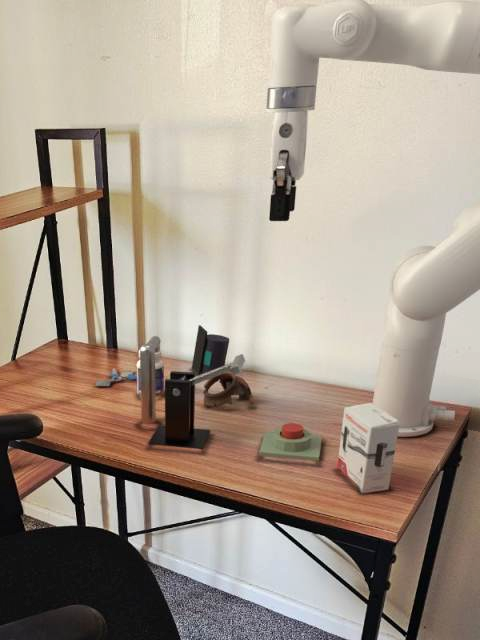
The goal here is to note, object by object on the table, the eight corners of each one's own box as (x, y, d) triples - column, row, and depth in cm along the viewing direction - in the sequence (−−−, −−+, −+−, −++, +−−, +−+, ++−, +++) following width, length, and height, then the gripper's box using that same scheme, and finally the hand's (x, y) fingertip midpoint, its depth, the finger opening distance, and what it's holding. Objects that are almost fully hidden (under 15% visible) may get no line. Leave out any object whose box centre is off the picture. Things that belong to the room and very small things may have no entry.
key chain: (99, 389, 156) (99, 386, 156) (82, 379, 162) (82, 375, 162) (153, 376, 161) (153, 373, 161) (135, 366, 168) (135, 363, 167)
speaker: (189, 377, 159) (195, 331, 154) (191, 369, 164) (196, 324, 159) (223, 380, 158) (230, 334, 153) (224, 373, 163) (230, 328, 158)
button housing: (321, 443, 128) (323, 425, 126) (318, 466, 121) (320, 447, 119) (264, 438, 131) (266, 421, 129) (258, 460, 123) (259, 442, 122)
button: (303, 432, 125) (304, 423, 124) (301, 441, 122) (302, 432, 121) (282, 431, 126) (283, 422, 125) (280, 439, 123) (281, 430, 122)
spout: (167, 412, 144) (167, 333, 135) (156, 431, 136) (156, 348, 128) (146, 410, 145) (145, 332, 136) (134, 429, 137) (132, 347, 129)
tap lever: (246, 363, 123) (241, 350, 122) (241, 375, 118) (236, 362, 117) (179, 388, 129) (174, 377, 128) (172, 401, 125) (166, 389, 124)
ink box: (334, 470, 119) (343, 405, 113) (362, 466, 120) (372, 401, 113) (360, 494, 112) (371, 426, 106) (389, 490, 112) (402, 422, 106)
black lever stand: (210, 435, 133) (212, 370, 127) (202, 454, 127) (204, 386, 120) (158, 431, 136) (158, 367, 130) (148, 449, 130) (147, 382, 123)
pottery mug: (259, 416, 140) (243, 387, 135) (215, 434, 144) (198, 406, 139) (253, 380, 149) (238, 351, 144) (212, 398, 152) (195, 370, 148)
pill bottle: (168, 397, 150) (168, 352, 145) (144, 402, 148) (143, 357, 143) (156, 389, 155) (156, 344, 150) (132, 393, 153) (131, 349, 148)
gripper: (311, 101, 104) (300, 224, 113) (318, 97, 118) (308, 207, 127) (260, 104, 107) (253, 225, 115) (272, 99, 120) (265, 208, 129)
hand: (282, 215), depth 121 cm, fingers open, 9 cm apart
